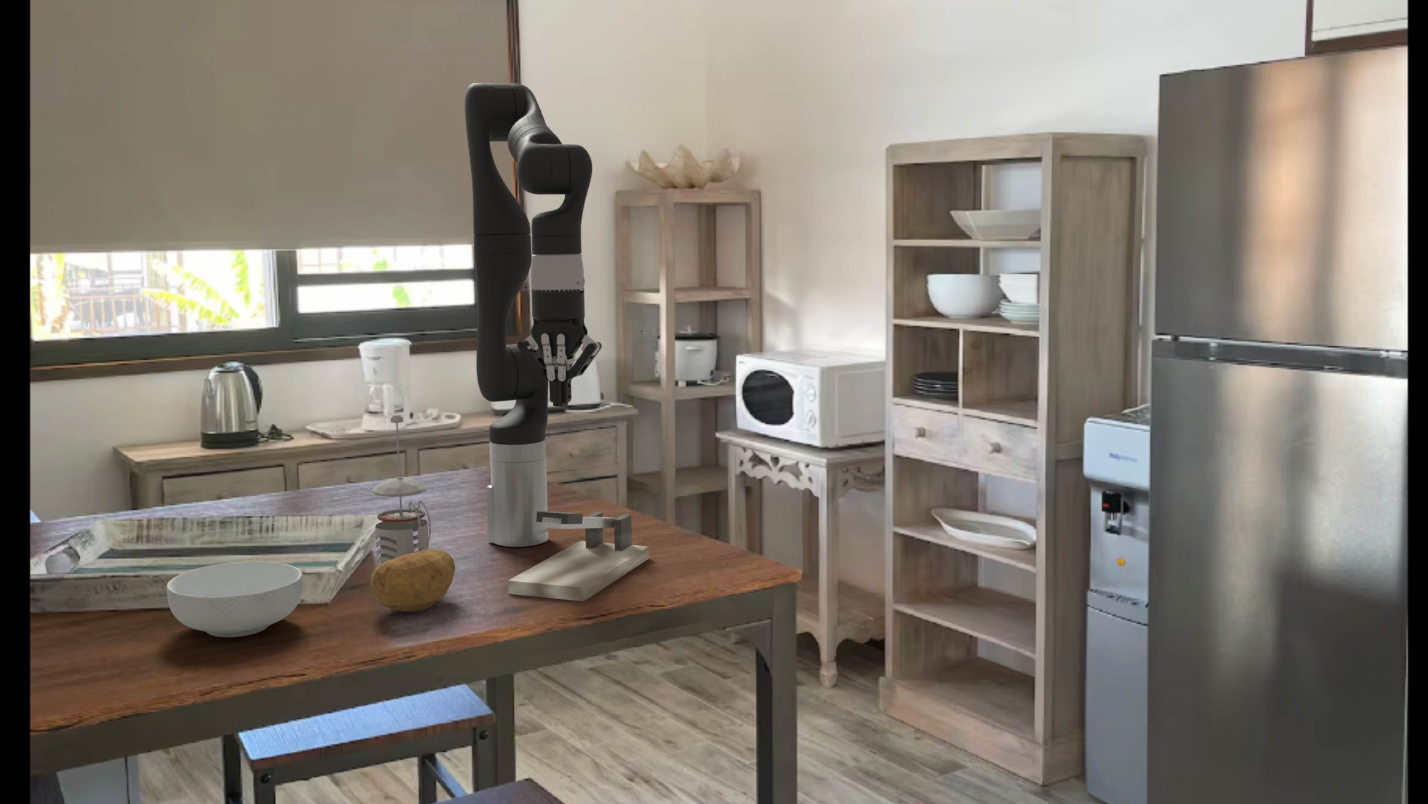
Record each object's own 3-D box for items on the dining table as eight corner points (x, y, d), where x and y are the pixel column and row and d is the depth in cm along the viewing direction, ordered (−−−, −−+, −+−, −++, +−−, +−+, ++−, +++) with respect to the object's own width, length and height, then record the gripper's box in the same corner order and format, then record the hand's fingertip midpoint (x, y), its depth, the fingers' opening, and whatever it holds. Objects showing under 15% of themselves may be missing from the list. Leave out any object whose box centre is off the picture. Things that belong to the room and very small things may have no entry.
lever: (535, 526, 185) (536, 511, 186) (595, 525, 205) (596, 511, 205) (566, 529, 184) (568, 513, 184) (624, 527, 203) (625, 513, 203)
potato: (476, 599, 183) (474, 544, 182) (410, 627, 171) (408, 569, 170) (422, 590, 188) (420, 537, 187) (354, 617, 175) (352, 560, 174)
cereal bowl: (170, 656, 161) (166, 602, 160) (168, 619, 176) (165, 569, 175) (311, 637, 167) (308, 585, 166) (298, 603, 182) (295, 555, 181)
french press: (414, 564, 202) (407, 407, 199) (456, 578, 194) (449, 415, 191) (358, 576, 196) (350, 414, 192) (398, 591, 187) (390, 423, 184)
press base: (508, 593, 186) (507, 546, 185) (580, 552, 208) (579, 510, 207) (583, 601, 182) (582, 553, 181) (648, 558, 204) (648, 515, 203)
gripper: (503, 287, 182) (507, 407, 185) (588, 288, 178) (591, 411, 180) (528, 284, 189) (532, 400, 192) (610, 285, 185) (613, 404, 187)
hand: (560, 405), depth 186 cm, fingers closed
